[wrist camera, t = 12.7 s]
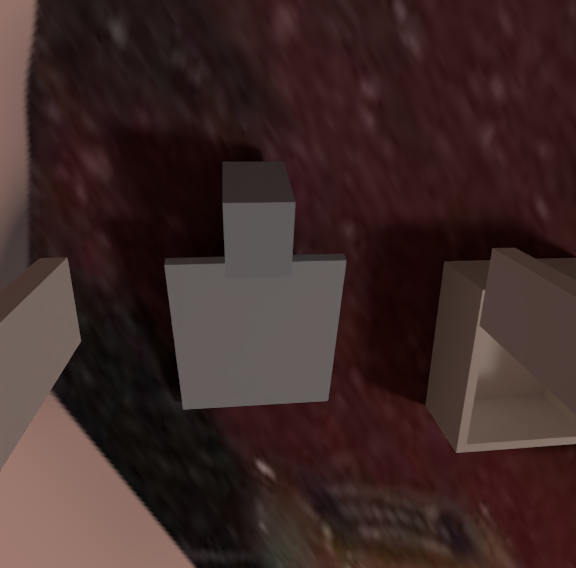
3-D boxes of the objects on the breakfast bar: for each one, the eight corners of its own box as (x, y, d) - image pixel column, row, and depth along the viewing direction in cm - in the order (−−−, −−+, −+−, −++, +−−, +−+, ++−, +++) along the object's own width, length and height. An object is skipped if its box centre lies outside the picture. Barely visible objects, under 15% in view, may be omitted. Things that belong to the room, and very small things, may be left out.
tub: (444, 261, 37) (482, 290, 31) (577, 257, 38) (637, 284, 32) (425, 405, 41) (456, 452, 36) (544, 397, 43) (592, 442, 37)
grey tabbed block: (162, 161, 31) (151, 203, 26) (341, 161, 32) (362, 201, 27) (186, 369, 41) (181, 426, 37) (319, 362, 43) (331, 417, 38)
